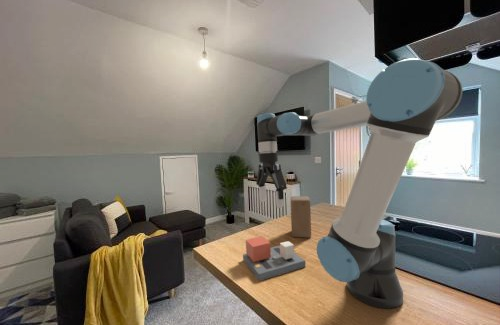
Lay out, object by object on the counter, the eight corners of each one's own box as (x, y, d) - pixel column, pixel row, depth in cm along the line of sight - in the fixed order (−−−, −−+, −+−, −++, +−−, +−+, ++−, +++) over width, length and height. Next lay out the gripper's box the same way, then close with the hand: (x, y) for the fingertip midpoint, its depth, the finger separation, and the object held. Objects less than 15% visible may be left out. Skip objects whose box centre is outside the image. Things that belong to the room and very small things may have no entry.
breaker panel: (305, 266, 81) (305, 259, 81) (259, 281, 73) (258, 273, 73) (283, 249, 96) (283, 243, 96) (243, 260, 88) (242, 253, 88)
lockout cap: (270, 257, 83) (270, 242, 83) (253, 262, 81) (252, 247, 80) (262, 249, 90) (261, 236, 90) (246, 253, 88) (245, 239, 87)
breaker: (294, 257, 82) (293, 244, 82) (285, 259, 81) (285, 247, 81) (288, 252, 86) (288, 241, 86) (280, 255, 85) (279, 243, 84)
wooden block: (311, 238, 107) (310, 200, 106) (291, 237, 109) (290, 200, 108) (310, 231, 117) (308, 195, 116) (291, 230, 119) (290, 196, 118)
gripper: (294, 150, 75) (297, 208, 75) (261, 153, 97) (264, 198, 98) (276, 151, 72) (280, 212, 72) (247, 154, 94) (250, 200, 95)
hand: (271, 204), depth 85 cm, fingers open, 13 cm apart
